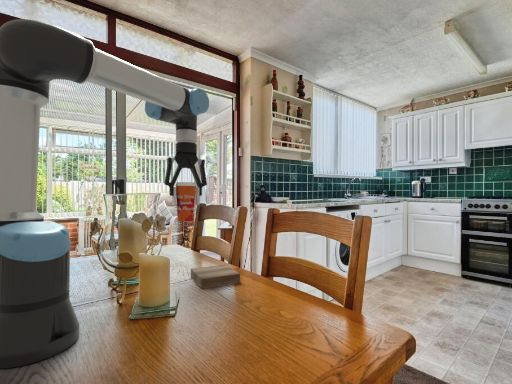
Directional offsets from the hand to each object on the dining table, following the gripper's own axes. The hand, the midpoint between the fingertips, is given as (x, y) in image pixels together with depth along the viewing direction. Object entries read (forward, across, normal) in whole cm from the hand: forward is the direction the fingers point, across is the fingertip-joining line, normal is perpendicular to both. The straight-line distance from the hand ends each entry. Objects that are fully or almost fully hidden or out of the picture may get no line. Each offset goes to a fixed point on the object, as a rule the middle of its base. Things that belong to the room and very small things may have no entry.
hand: (185, 204), depth 104 cm
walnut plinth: (+25, -7, +12) cm, 29 cm away
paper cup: (+6, 0, 0) cm, 6 cm away
